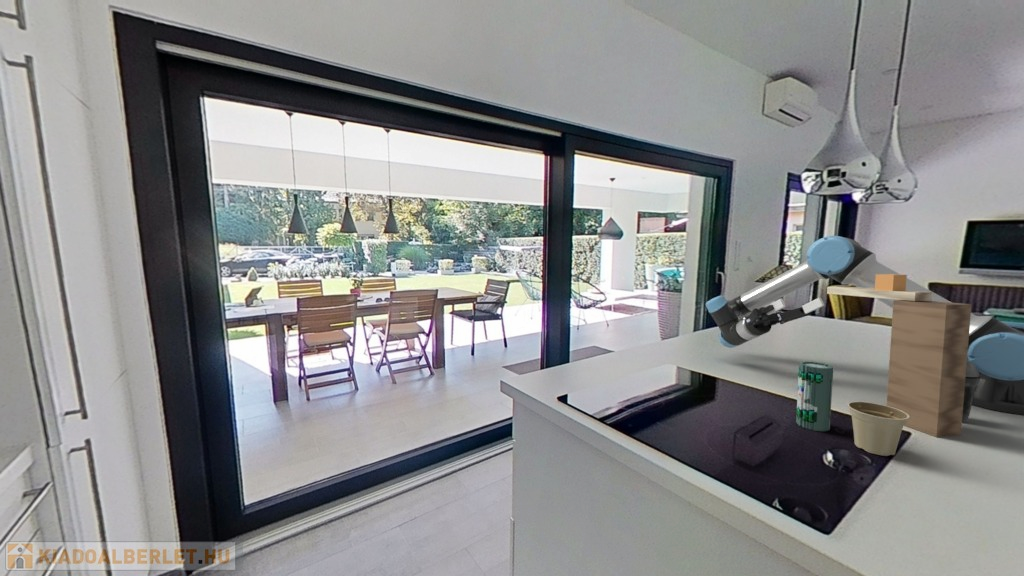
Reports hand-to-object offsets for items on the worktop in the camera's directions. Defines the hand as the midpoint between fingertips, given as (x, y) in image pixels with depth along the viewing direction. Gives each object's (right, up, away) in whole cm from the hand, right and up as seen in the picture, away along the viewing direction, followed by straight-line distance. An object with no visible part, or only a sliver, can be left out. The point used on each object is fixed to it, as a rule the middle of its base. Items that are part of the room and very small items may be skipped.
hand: (802, 302), depth 114 cm
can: (-16, -29, -24) cm, 41 cm away
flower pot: (-12, -30, -35) cm, 48 cm away
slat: (+7, +2, -15) cm, 17 cm away
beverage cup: (+22, -29, -20) cm, 42 cm away
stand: (+10, -29, -24) cm, 39 cm away
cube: (+8, +4, -19) cm, 20 cm away
